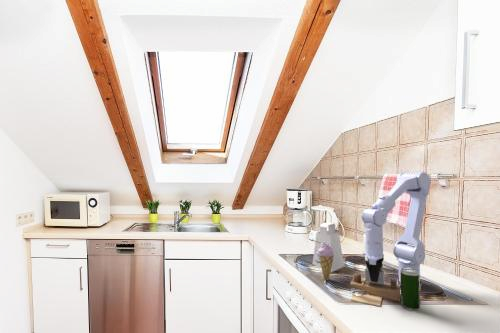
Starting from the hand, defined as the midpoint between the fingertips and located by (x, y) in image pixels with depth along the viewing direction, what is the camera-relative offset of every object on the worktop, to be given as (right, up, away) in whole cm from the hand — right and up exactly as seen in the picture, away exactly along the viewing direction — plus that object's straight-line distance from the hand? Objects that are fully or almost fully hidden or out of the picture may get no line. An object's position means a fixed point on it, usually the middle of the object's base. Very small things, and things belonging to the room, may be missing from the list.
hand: (375, 279), depth 100 cm
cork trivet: (-6, -5, -6) cm, 9 cm away
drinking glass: (+11, -6, +28) cm, 31 cm away
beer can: (+6, -5, -11) cm, 14 cm away
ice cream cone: (-15, -6, +13) cm, 20 cm away
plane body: (0, -5, 0) cm, 5 cm away
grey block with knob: (0, -1, 0) cm, 0 cm away
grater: (-9, -6, +29) cm, 31 cm away
